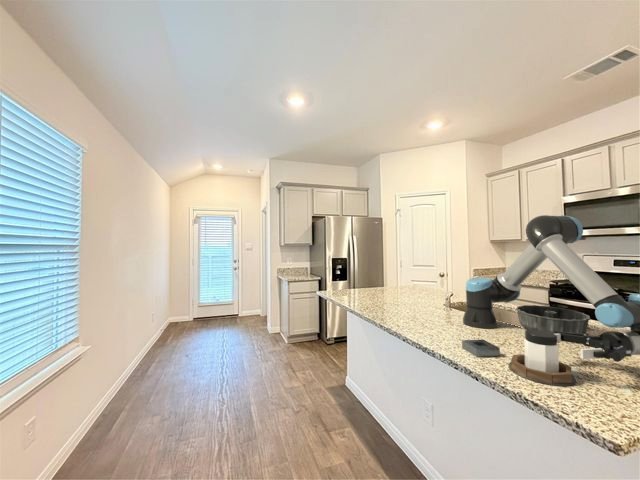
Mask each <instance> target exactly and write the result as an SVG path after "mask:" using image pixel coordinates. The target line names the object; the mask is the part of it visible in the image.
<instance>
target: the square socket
mask: <svg viewBox="0 0 640 480" xmlns="http://www.w3.org/2000/svg"><path fill="white" fill-rule="evenodd" d="M461 348H462V349H463V350H465V351H466V352H469V353H470V354H471V355H473V356H474V357H475V358H485V357H487V358H488V357H500V356H501V354H500V352H501V349H500V347H498V346H497V345H495V344H494V343H493V344H492V343H491V342H489V341H487V340H485V339H464V340H463V339H462V340H461Z"/></svg>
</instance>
